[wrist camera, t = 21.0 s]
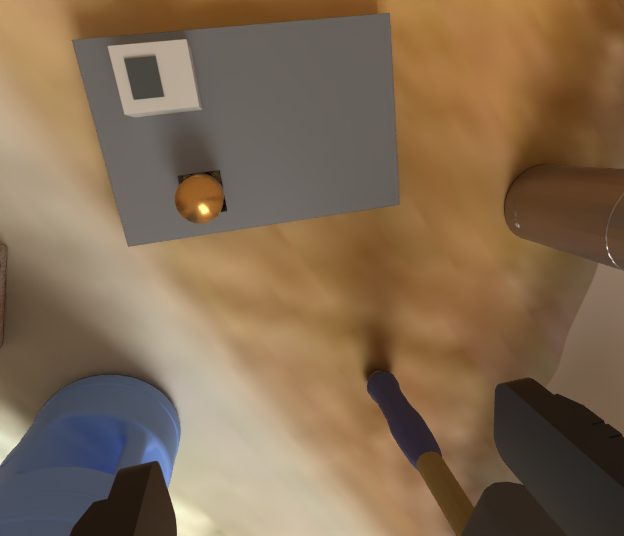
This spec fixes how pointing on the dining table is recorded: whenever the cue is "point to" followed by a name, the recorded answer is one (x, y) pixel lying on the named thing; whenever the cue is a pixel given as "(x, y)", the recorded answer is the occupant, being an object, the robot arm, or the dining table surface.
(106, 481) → the water jug
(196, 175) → the orange rounded piece
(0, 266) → the decorative jar
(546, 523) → the rubber mallet
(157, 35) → the board
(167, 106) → the white boxy piece
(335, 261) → the dining table surface
